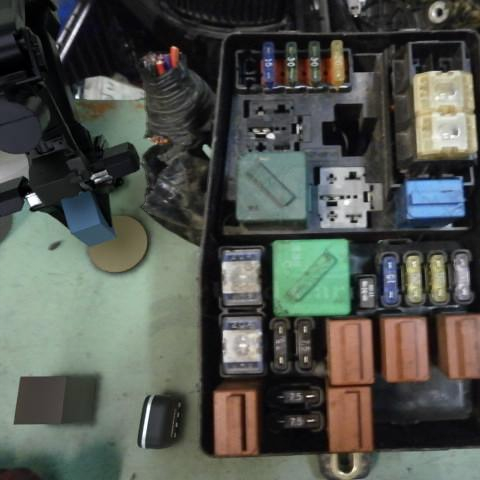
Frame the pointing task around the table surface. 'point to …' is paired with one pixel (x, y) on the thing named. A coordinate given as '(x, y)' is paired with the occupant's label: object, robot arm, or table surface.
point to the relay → (87, 219)
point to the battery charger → (159, 421)
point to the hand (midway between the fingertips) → (96, 231)
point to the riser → (54, 400)
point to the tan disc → (121, 246)
